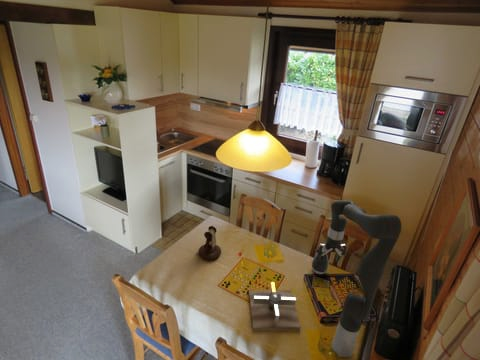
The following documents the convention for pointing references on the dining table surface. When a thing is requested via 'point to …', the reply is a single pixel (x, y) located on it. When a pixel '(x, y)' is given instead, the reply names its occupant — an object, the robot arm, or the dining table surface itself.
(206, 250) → the dark brown tall figurine
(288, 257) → the dining table surface
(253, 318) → the level stand
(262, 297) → the capstan
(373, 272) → the robot arm
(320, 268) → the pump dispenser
